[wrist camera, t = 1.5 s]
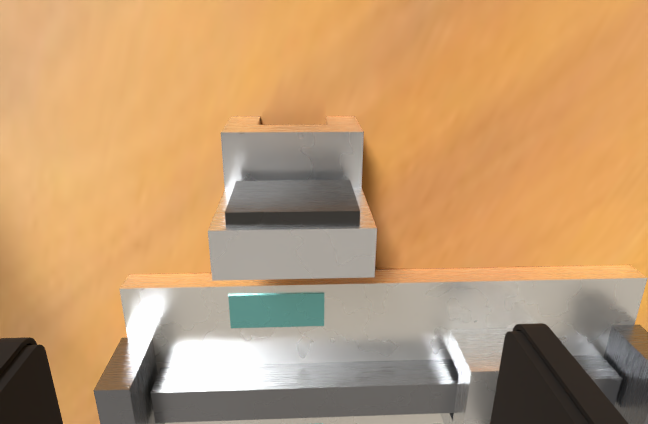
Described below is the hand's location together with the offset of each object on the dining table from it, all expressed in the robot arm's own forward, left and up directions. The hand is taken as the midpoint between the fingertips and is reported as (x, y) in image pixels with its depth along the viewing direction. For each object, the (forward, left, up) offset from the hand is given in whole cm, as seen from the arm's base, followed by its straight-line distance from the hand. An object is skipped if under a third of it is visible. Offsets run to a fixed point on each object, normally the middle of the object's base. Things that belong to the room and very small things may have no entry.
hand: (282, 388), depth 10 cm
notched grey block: (0, 0, -16) cm, 16 cm away
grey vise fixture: (-5, +12, -16) cm, 21 cm away
